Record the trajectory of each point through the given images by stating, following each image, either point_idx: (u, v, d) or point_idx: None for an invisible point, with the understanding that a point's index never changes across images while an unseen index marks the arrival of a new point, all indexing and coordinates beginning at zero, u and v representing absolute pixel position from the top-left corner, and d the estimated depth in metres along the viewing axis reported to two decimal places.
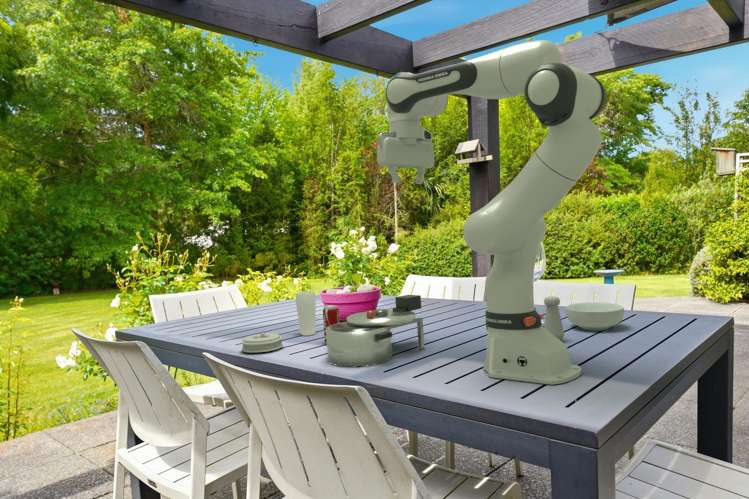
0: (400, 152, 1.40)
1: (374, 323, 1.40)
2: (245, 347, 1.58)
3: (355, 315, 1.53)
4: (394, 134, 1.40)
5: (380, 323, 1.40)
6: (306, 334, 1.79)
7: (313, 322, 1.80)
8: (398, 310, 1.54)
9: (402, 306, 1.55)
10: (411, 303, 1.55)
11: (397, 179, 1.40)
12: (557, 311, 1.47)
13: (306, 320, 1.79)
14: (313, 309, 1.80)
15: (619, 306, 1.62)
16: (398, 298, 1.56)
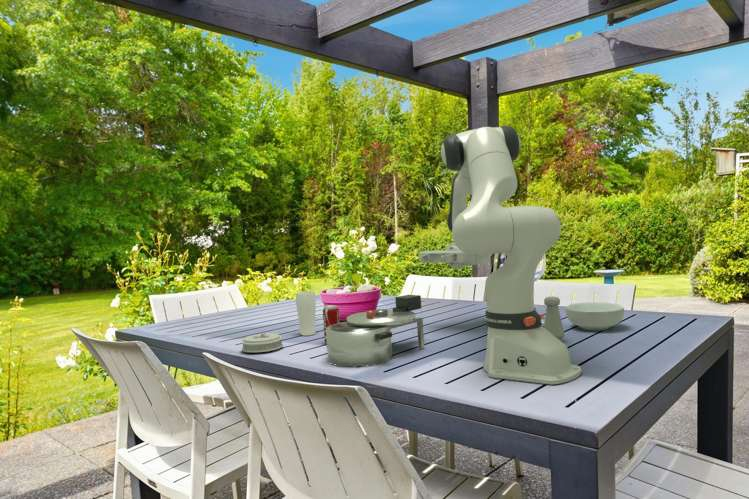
0: None
1: (374, 323, 1.40)
2: (245, 347, 1.58)
3: (355, 315, 1.53)
4: None
5: (380, 323, 1.40)
6: (306, 334, 1.79)
7: (313, 322, 1.80)
8: (398, 310, 1.54)
9: (402, 306, 1.55)
10: (411, 303, 1.55)
11: (422, 255, 1.69)
12: (557, 311, 1.47)
13: (306, 320, 1.79)
14: (313, 309, 1.80)
15: (619, 306, 1.62)
16: (398, 298, 1.56)
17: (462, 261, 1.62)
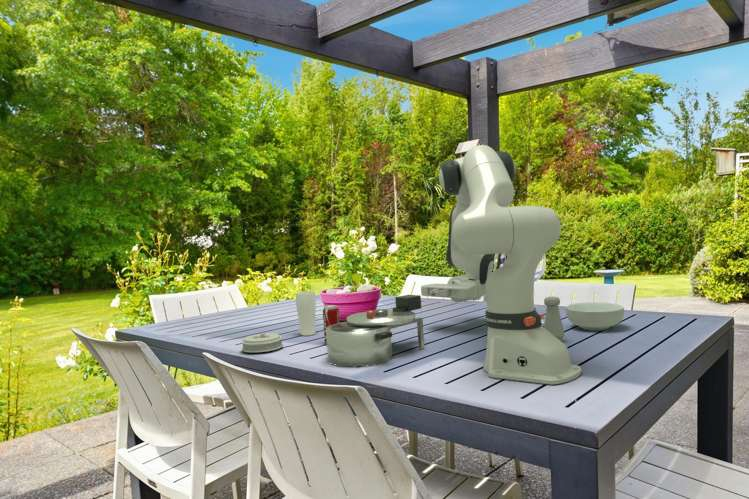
0: (439, 285, 1.74)
1: (374, 323, 1.40)
2: (245, 347, 1.58)
3: (355, 315, 1.53)
4: None
5: (380, 323, 1.40)
6: (306, 334, 1.79)
7: (313, 322, 1.80)
8: (398, 310, 1.54)
9: (402, 306, 1.55)
10: (411, 303, 1.55)
11: (432, 290, 1.67)
12: (557, 311, 1.47)
13: (306, 320, 1.79)
14: (313, 309, 1.80)
15: (619, 306, 1.62)
16: (398, 298, 1.56)
17: (464, 297, 1.63)
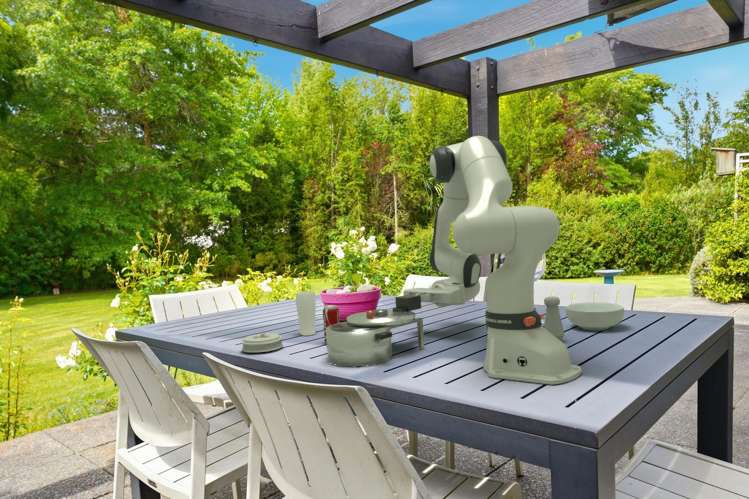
0: (422, 289, 1.68)
1: (374, 323, 1.40)
2: (245, 347, 1.58)
3: (355, 315, 1.53)
4: None
5: (380, 323, 1.39)
6: (306, 334, 1.79)
7: (313, 322, 1.80)
8: (398, 310, 1.54)
9: (402, 306, 1.55)
10: (411, 303, 1.55)
11: None
12: (557, 311, 1.47)
13: (306, 320, 1.79)
14: (313, 309, 1.80)
15: (619, 306, 1.62)
16: (398, 298, 1.56)
17: (447, 302, 1.56)
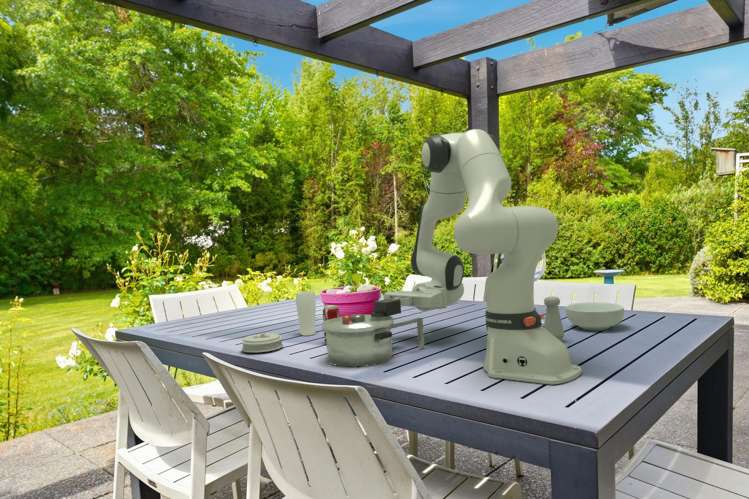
0: (402, 292, 1.62)
1: (349, 329, 1.33)
2: (245, 347, 1.58)
3: (331, 320, 1.46)
4: None
5: (355, 329, 1.33)
6: (306, 334, 1.79)
7: (313, 322, 1.80)
8: (376, 315, 1.48)
9: (381, 311, 1.49)
10: (390, 308, 1.49)
11: None
12: (557, 311, 1.47)
13: (306, 320, 1.79)
14: (313, 309, 1.80)
15: (619, 306, 1.62)
16: (377, 302, 1.50)
17: (427, 306, 1.50)
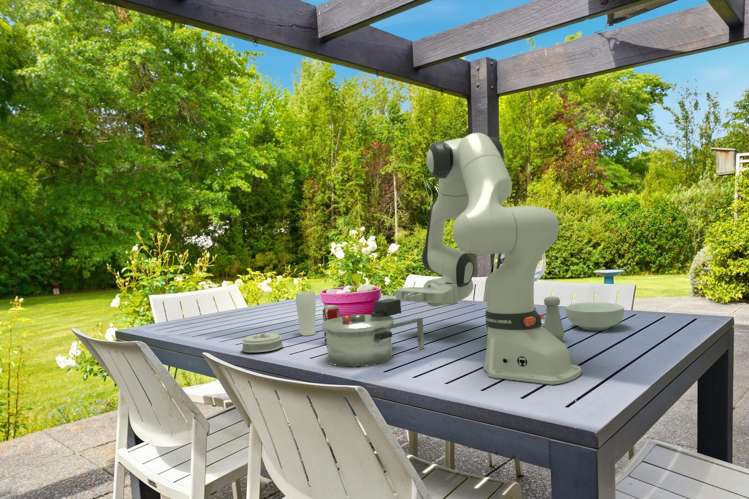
0: None
1: (349, 329, 1.33)
2: (245, 347, 1.58)
3: (331, 320, 1.47)
4: None
5: (355, 329, 1.33)
6: (306, 334, 1.79)
7: (313, 322, 1.80)
8: (376, 315, 1.48)
9: (381, 311, 1.49)
10: (390, 308, 1.49)
11: (406, 295, 1.59)
12: (557, 311, 1.47)
13: (306, 320, 1.79)
14: (313, 309, 1.80)
15: (619, 306, 1.62)
16: (377, 302, 1.50)
17: (439, 302, 1.55)
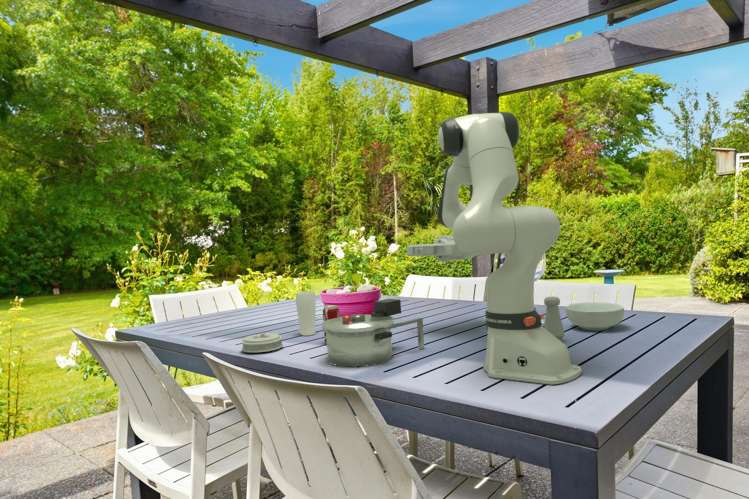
0: None
1: (349, 329, 1.33)
2: (245, 347, 1.58)
3: (331, 320, 1.47)
4: None
5: (355, 329, 1.33)
6: (306, 334, 1.79)
7: (313, 322, 1.80)
8: (376, 315, 1.48)
9: (381, 311, 1.49)
10: (390, 308, 1.49)
11: (417, 248, 1.63)
12: (557, 311, 1.47)
13: (306, 320, 1.79)
14: (313, 309, 1.80)
15: (619, 306, 1.62)
16: (377, 302, 1.50)
17: (450, 253, 1.58)
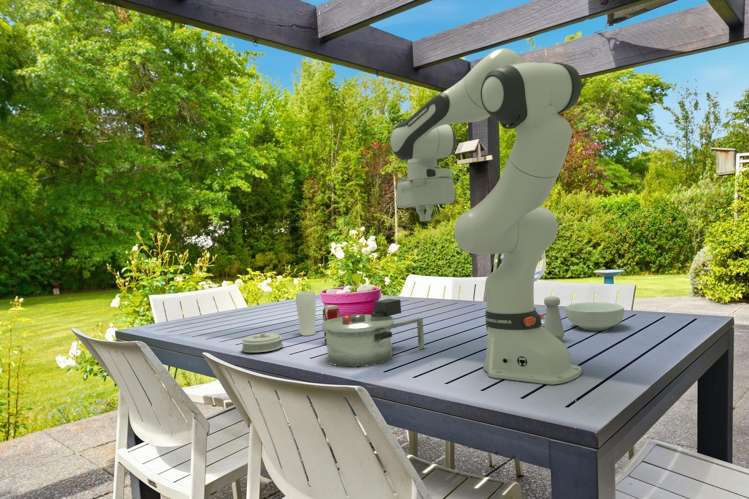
0: (409, 194, 1.53)
1: (349, 329, 1.33)
2: (245, 347, 1.58)
3: (331, 320, 1.47)
4: None
5: (355, 329, 1.33)
6: (306, 334, 1.79)
7: (313, 322, 1.80)
8: (376, 315, 1.48)
9: (381, 311, 1.49)
10: (390, 308, 1.49)
11: (420, 218, 1.52)
12: (557, 311, 1.47)
13: (306, 320, 1.79)
14: (313, 309, 1.80)
15: (619, 306, 1.62)
16: (377, 302, 1.50)
17: (451, 202, 1.46)
